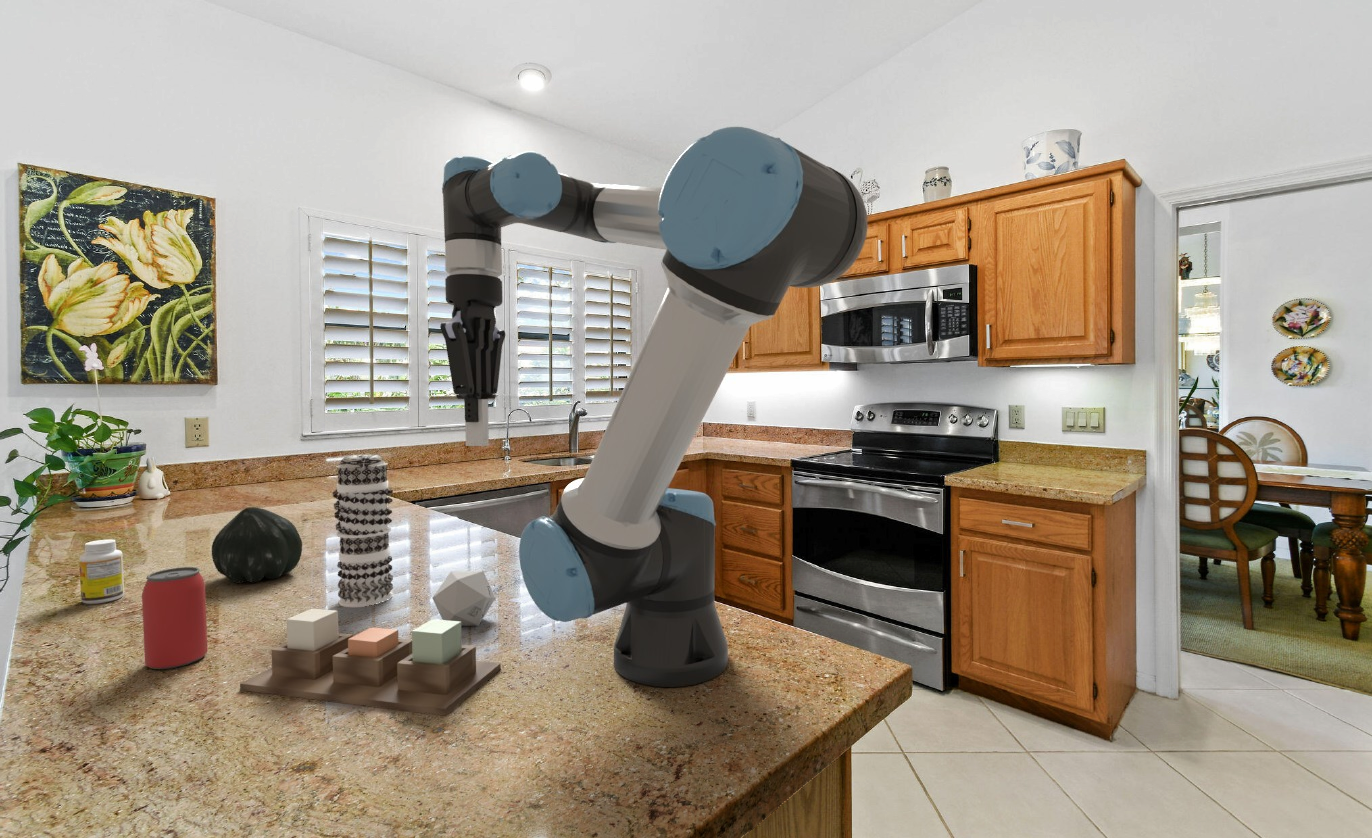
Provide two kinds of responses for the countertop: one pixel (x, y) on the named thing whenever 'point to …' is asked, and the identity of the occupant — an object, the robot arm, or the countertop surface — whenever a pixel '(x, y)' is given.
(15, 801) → the countertop surface
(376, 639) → the terracotta button
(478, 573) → the die
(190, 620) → the beer can
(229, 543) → the squash
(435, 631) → the sage button
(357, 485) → the decorative candle
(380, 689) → the button board
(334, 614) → the ivory button
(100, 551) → the supplement bottle
